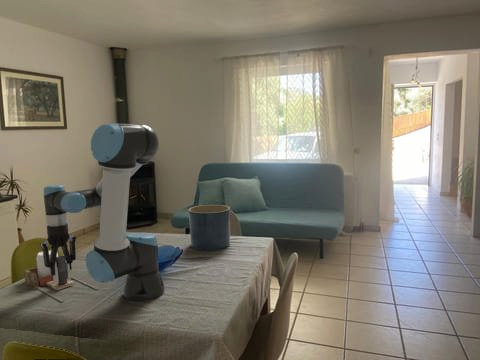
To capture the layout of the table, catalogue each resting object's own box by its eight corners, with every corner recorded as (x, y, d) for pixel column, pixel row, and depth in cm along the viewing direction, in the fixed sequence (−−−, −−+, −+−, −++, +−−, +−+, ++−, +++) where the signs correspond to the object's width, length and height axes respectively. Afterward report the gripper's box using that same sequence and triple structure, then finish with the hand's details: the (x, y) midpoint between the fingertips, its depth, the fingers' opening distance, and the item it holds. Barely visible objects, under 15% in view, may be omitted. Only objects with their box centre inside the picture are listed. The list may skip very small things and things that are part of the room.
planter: (186, 251, 190) (185, 213, 187) (193, 239, 212) (192, 205, 209) (229, 250, 189) (228, 212, 186) (232, 238, 211) (231, 204, 208)
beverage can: (51, 284, 151) (48, 256, 150) (34, 283, 153) (31, 255, 151) (64, 276, 159) (61, 250, 158) (48, 275, 161) (45, 249, 159)
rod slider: (79, 282, 151) (76, 254, 149) (51, 292, 143) (49, 262, 141) (66, 277, 158) (64, 250, 156) (40, 285, 149) (37, 257, 148)
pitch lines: (98, 289, 145) (98, 288, 145) (61, 302, 134) (61, 301, 134) (70, 276, 159) (70, 275, 159) (35, 287, 148) (34, 286, 148)
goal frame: (70, 276, 159) (69, 265, 159) (35, 287, 148) (33, 275, 148) (59, 271, 166) (58, 260, 165) (24, 281, 155) (23, 270, 154)
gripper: (73, 218, 154) (78, 271, 157) (30, 227, 141) (35, 285, 144) (82, 220, 150) (87, 275, 152) (38, 230, 136) (44, 289, 139)
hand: (62, 280), depth 148 cm, fingers open, 4 cm apart
